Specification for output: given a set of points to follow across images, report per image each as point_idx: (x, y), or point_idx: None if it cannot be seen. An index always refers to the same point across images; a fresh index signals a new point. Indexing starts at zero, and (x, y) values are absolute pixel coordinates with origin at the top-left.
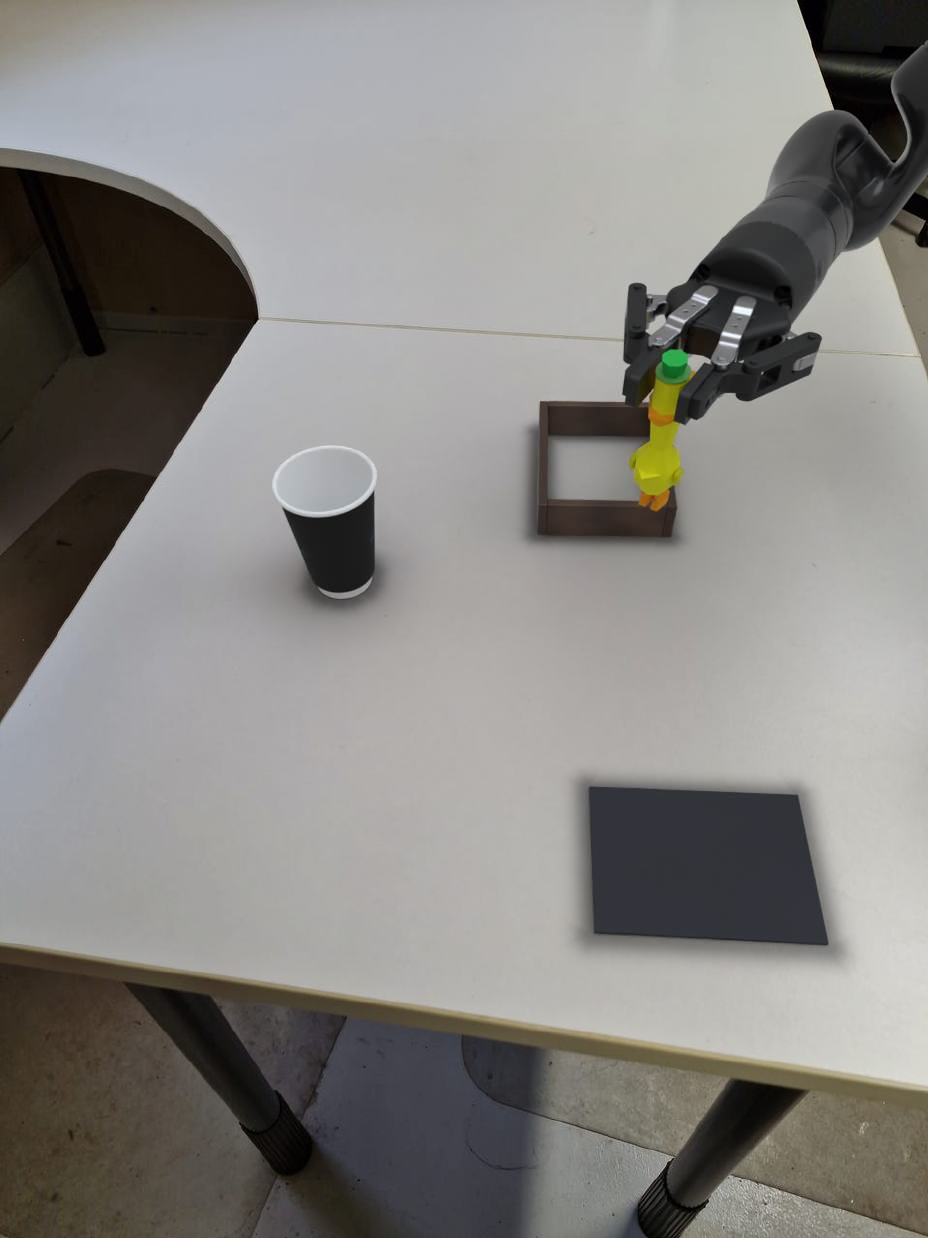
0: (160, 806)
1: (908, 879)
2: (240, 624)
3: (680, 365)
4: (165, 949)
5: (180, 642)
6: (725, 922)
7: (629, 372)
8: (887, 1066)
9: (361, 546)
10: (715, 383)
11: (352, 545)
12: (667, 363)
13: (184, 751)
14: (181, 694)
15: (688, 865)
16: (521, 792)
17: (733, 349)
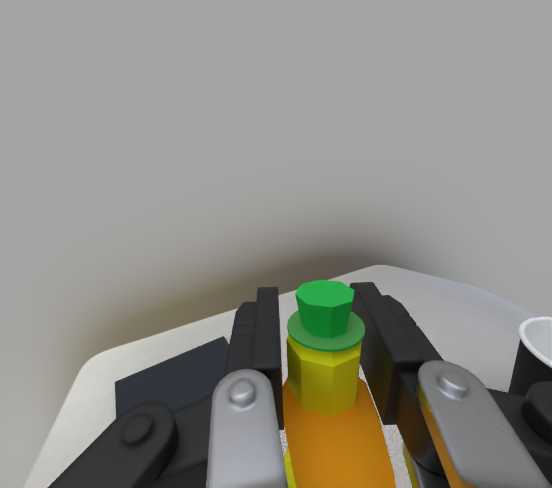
0: (398, 294)
1: (49, 446)
2: (506, 363)
3: (302, 284)
4: (345, 277)
5: (504, 338)
6: (167, 365)
7: (390, 302)
8: (98, 355)
9: (518, 391)
10: (233, 346)
11: (515, 377)
12: (326, 280)
13: (421, 308)
14: (459, 322)
15: (189, 378)
16: (285, 368)
17: (218, 469)
